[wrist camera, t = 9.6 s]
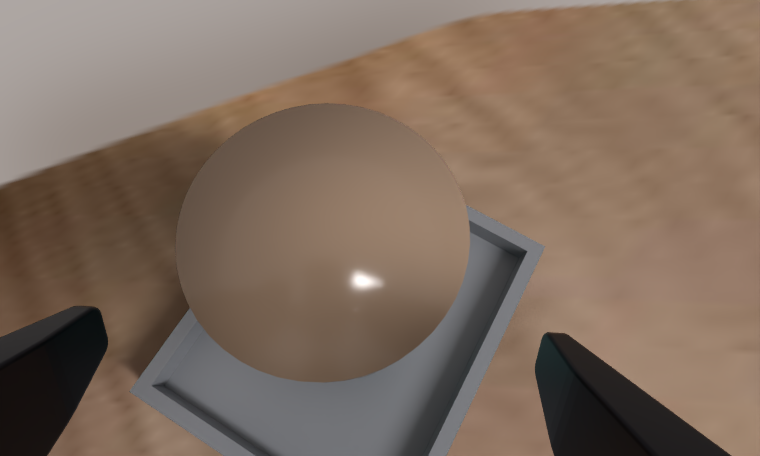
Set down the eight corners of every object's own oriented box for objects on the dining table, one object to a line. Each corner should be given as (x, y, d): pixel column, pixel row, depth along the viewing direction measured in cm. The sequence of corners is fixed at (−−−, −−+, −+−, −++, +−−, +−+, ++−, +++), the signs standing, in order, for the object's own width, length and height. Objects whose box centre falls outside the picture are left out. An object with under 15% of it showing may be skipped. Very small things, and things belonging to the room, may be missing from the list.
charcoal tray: (390, 552, 18) (392, 570, 16) (150, 390, 19) (129, 391, 18) (531, 257, 22) (545, 246, 20) (323, 146, 24) (319, 128, 22)
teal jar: (413, 382, 19) (483, 379, 7) (287, 385, 19) (154, 385, 7) (408, 260, 21) (458, 102, 9) (293, 262, 21) (194, 103, 9)
